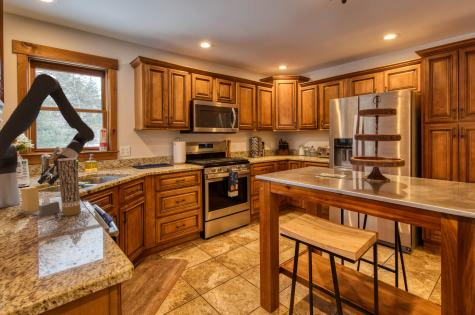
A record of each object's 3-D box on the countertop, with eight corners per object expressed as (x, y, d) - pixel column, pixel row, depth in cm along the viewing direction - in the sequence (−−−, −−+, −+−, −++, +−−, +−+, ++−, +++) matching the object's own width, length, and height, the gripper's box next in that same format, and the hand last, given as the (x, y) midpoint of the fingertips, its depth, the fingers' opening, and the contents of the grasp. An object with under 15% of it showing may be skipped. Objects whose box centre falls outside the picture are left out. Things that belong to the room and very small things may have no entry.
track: (19, 213, 113) (17, 203, 113) (36, 209, 120) (35, 199, 120) (42, 217, 106) (41, 206, 106) (60, 212, 113) (58, 202, 112)
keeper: (23, 211, 114) (20, 188, 113) (34, 208, 118) (32, 186, 118) (28, 212, 113) (26, 189, 112) (40, 209, 117) (37, 186, 116)
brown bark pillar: (64, 213, 112) (59, 158, 110) (82, 210, 115) (77, 157, 112) (61, 217, 106) (55, 159, 103) (79, 214, 108) (74, 158, 106)
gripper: (51, 153, 130) (29, 179, 121) (69, 153, 124) (46, 180, 115) (63, 162, 135) (42, 187, 126) (80, 162, 130) (59, 188, 120)
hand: (44, 183), depth 120 cm, fingers open, 8 cm apart
